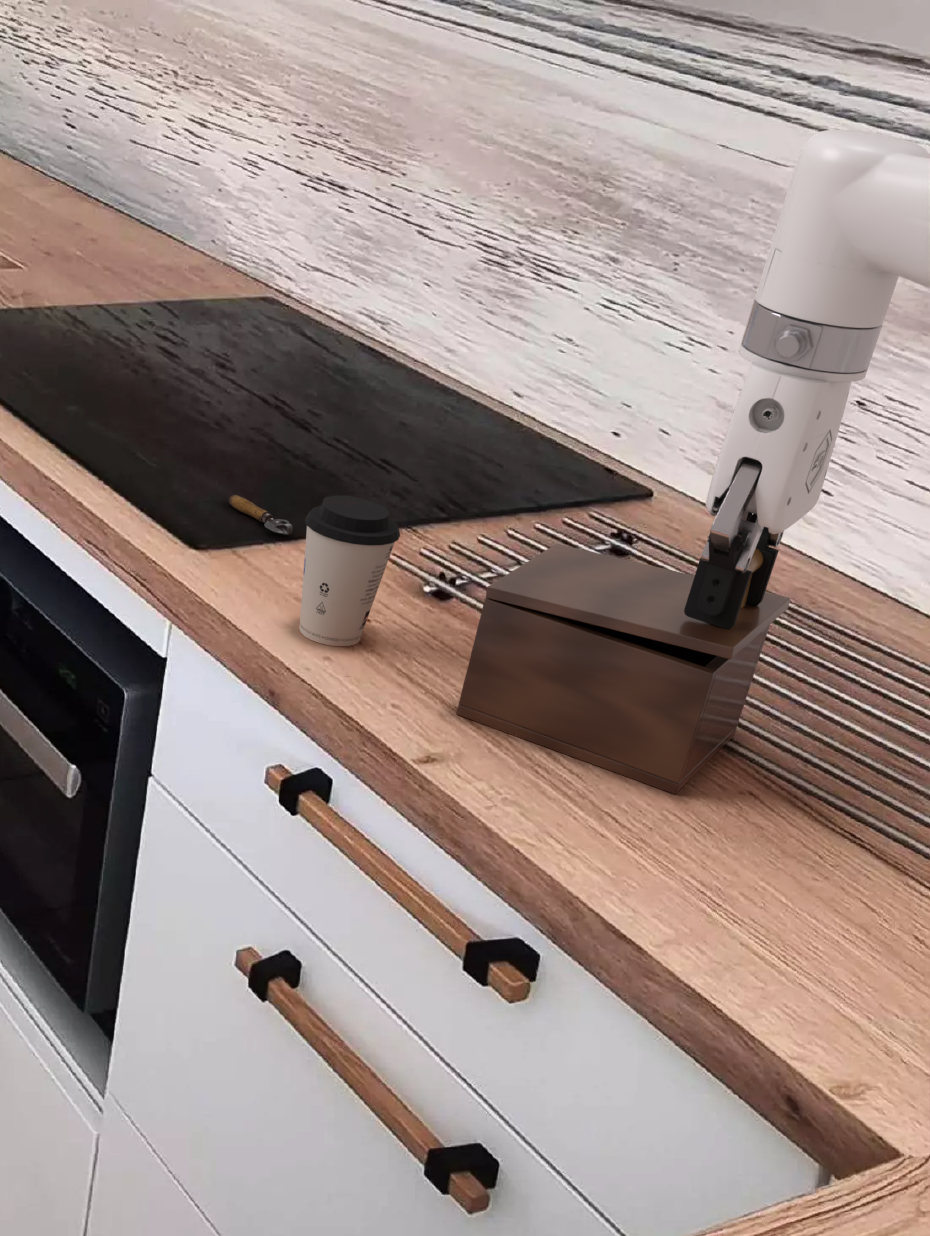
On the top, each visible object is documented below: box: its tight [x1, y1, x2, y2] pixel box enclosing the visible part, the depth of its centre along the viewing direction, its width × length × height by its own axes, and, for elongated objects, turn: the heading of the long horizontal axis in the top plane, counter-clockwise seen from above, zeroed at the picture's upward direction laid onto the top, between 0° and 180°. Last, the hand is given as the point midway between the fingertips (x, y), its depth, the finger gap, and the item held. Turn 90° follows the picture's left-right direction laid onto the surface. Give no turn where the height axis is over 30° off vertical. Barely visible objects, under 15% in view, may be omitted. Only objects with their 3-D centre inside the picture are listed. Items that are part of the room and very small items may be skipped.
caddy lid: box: [485, 543, 791, 659], centre depth 133 cm, size 16×13×5 cm
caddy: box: [456, 597, 771, 795], centre depth 137 cm, size 16×13×9 cm
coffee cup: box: [298, 495, 401, 647], centre depth 147 cm, size 7×7×10 cm
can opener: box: [228, 494, 294, 536], centre depth 169 cm, size 9×2×1 cm, turn 20°
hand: (722, 607), depth 131 cm, fingers closed on caddy lid, 5 cm apart
